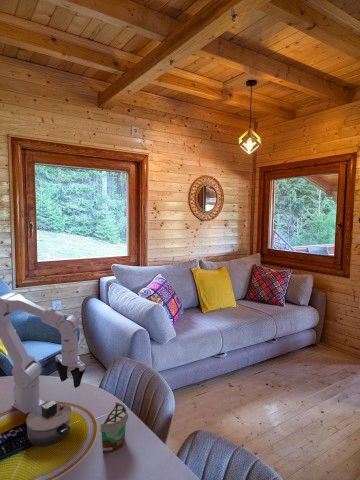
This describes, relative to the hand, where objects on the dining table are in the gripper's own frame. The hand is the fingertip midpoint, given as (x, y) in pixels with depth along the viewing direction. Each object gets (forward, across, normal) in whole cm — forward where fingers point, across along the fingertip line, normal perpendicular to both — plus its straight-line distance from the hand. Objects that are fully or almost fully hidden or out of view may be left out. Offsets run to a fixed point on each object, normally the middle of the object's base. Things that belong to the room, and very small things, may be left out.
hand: (70, 383), depth 119 cm
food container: (+10, -28, +4) cm, 30 cm away
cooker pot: (+9, -5, +13) cm, 17 cm away
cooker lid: (+4, -5, +13) cm, 14 cm away
